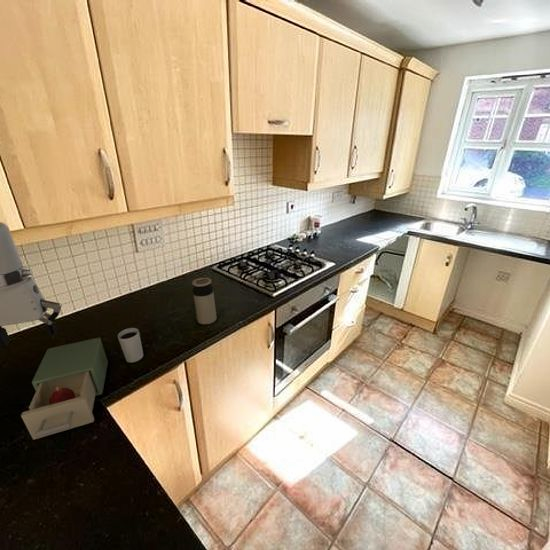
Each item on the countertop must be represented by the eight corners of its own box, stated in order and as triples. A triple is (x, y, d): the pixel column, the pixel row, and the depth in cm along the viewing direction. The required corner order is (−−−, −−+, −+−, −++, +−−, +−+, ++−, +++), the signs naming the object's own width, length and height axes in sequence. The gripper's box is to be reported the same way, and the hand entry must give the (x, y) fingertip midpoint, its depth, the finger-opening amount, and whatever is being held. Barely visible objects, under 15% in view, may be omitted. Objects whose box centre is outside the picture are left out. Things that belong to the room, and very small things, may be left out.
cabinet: (102, 394, 90) (93, 367, 86) (44, 410, 86) (31, 382, 81) (107, 362, 104) (100, 337, 100) (58, 374, 99) (47, 348, 95)
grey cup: (137, 348, 110) (131, 325, 106) (148, 355, 107) (142, 331, 103) (120, 359, 105) (113, 335, 101) (131, 365, 102) (124, 341, 98)
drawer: (90, 437, 76) (81, 413, 73) (26, 457, 72) (13, 432, 68) (100, 384, 93) (93, 363, 89) (49, 398, 88) (39, 376, 85)
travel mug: (220, 317, 129) (215, 279, 121) (208, 326, 122) (203, 287, 115) (205, 313, 132) (200, 275, 125) (193, 322, 126) (187, 283, 118)
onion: (83, 406, 84) (74, 384, 80) (61, 421, 79) (51, 399, 76) (71, 398, 86) (63, 377, 83) (50, 413, 82) (39, 390, 79)
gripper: (54, 266, 74) (73, 325, 81) (-35, 277, 68) (-6, 339, 75) (45, 277, 68) (66, 341, 74) (-54, 290, 62) (-21, 357, 69)
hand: (30, 340), depth 75 cm, fingers open, 9 cm apart
